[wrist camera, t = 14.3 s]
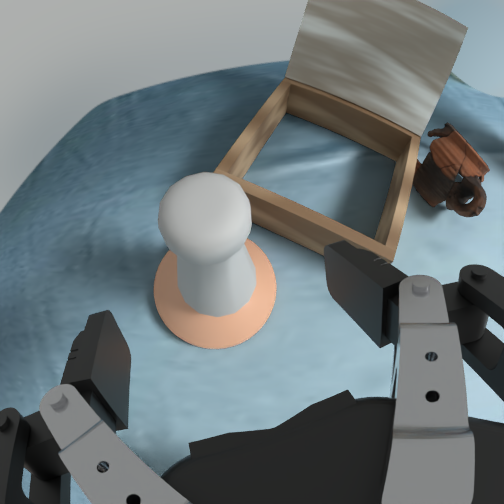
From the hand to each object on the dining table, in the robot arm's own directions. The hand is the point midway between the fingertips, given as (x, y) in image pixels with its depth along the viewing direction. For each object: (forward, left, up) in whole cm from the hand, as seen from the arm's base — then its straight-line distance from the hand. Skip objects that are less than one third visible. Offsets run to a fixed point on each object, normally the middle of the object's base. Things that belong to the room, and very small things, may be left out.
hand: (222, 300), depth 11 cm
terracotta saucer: (-3, -3, -15) cm, 15 cm away
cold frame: (-21, +1, -15) cm, 26 cm away
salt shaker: (-3, -3, -14) cm, 15 cm away
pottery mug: (-25, +14, -15) cm, 33 cm away
